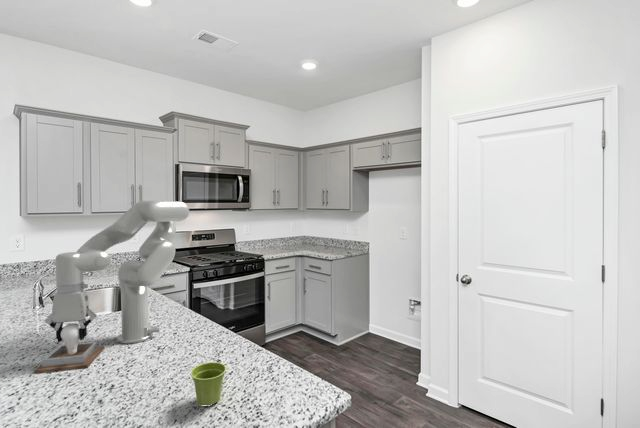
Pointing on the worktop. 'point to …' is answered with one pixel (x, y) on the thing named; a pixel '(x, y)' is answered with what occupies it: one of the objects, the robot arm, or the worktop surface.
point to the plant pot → (208, 382)
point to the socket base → (70, 367)
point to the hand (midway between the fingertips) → (71, 339)
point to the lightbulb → (71, 337)
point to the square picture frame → (70, 360)
